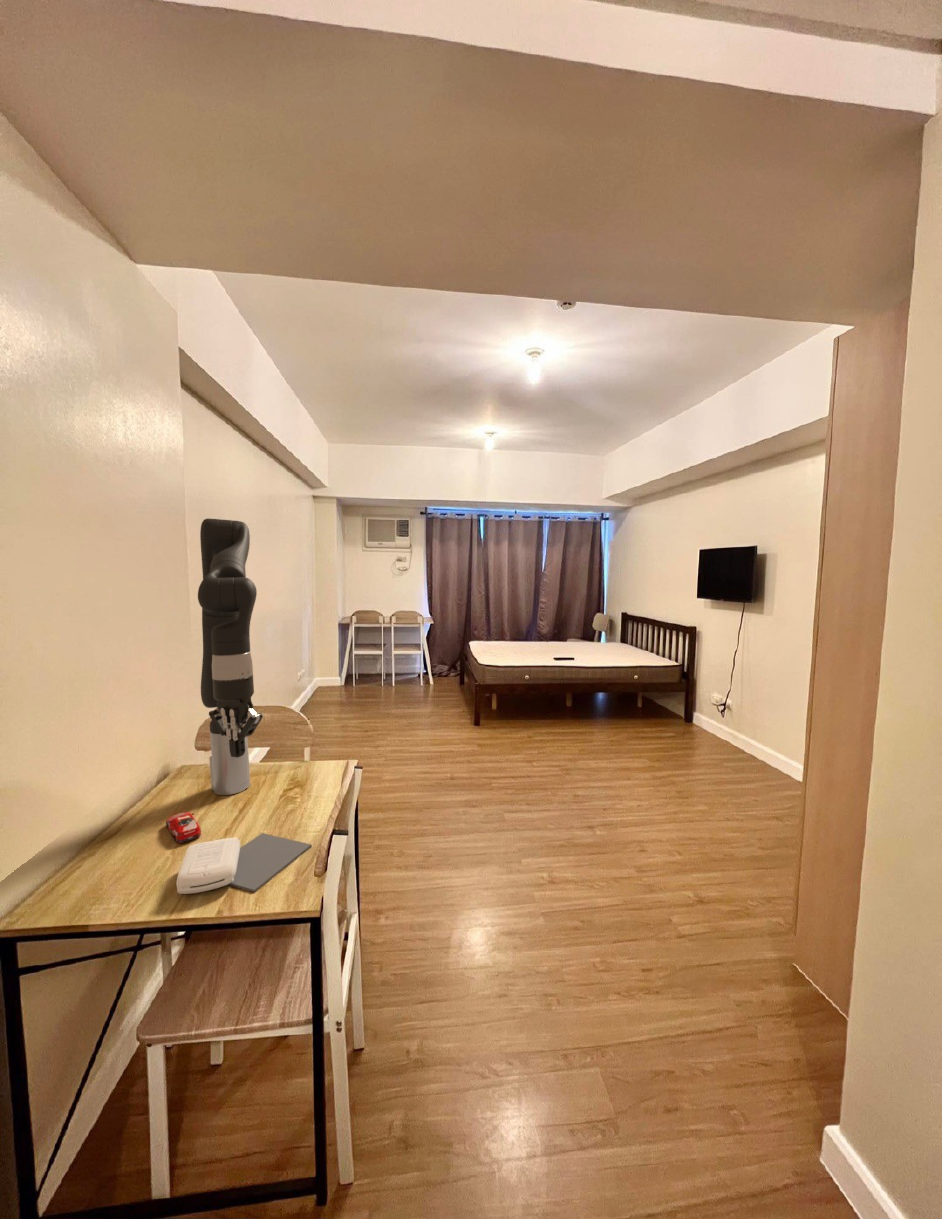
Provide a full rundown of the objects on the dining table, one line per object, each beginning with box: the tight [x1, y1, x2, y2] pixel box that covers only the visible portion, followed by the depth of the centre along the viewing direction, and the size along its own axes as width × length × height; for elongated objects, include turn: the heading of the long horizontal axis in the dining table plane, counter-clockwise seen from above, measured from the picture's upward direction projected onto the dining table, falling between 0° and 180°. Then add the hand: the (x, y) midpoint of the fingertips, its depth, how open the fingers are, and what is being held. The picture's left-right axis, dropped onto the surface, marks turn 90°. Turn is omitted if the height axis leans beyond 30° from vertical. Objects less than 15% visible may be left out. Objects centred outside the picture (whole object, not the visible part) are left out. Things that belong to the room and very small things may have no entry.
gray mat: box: [227, 832, 312, 893], centre depth 101 cm, size 14×16×1 cm
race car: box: [165, 812, 202, 844], centre depth 113 cm, size 13×5×4 cm, turn 42°
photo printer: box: [175, 837, 242, 895], centre depth 95 cm, size 10×4×12 cm
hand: (237, 755), depth 100 cm, fingers closed
